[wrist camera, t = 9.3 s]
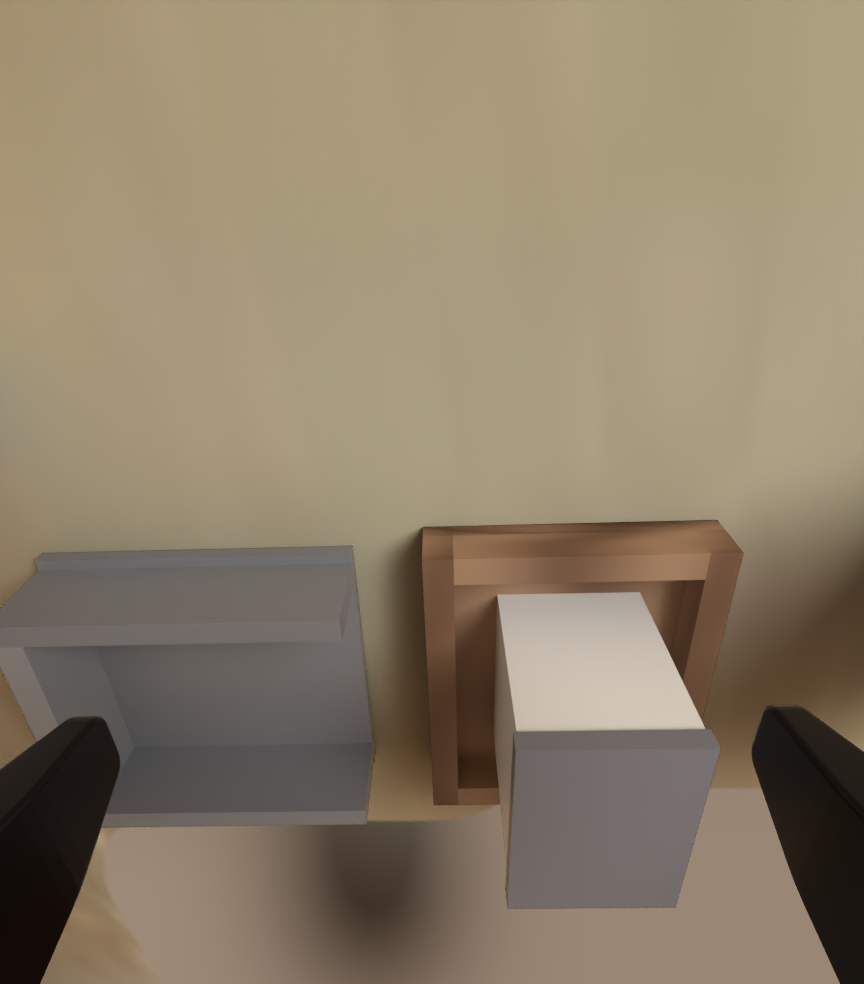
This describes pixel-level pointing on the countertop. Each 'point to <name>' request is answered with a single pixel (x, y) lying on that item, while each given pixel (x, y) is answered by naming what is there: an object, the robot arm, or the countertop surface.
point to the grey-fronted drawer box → (594, 754)
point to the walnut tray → (555, 570)
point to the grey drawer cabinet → (204, 679)
